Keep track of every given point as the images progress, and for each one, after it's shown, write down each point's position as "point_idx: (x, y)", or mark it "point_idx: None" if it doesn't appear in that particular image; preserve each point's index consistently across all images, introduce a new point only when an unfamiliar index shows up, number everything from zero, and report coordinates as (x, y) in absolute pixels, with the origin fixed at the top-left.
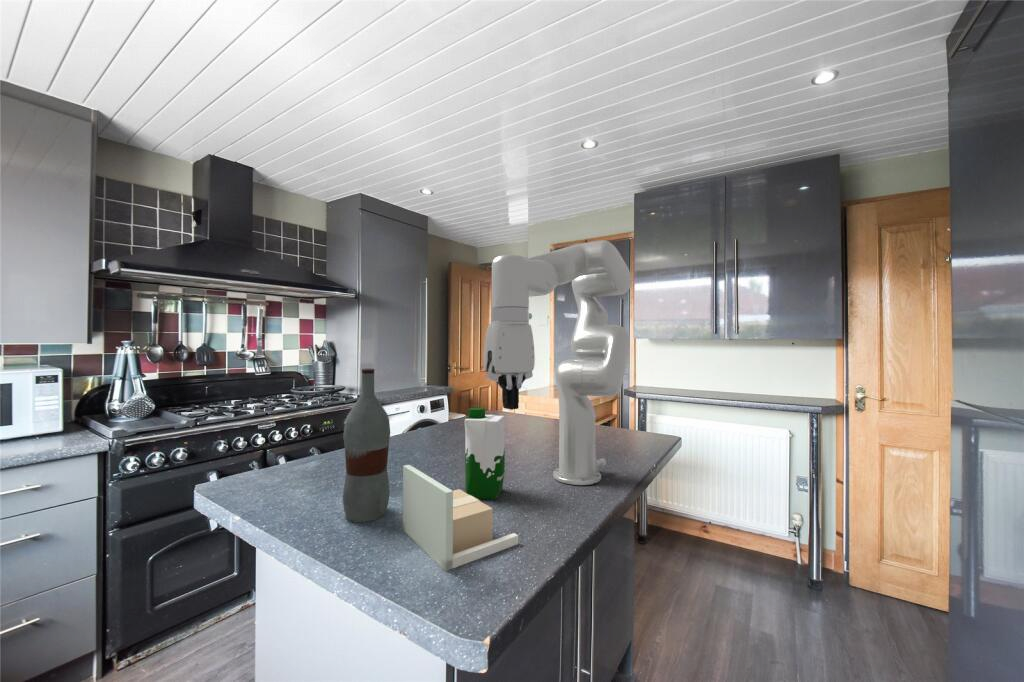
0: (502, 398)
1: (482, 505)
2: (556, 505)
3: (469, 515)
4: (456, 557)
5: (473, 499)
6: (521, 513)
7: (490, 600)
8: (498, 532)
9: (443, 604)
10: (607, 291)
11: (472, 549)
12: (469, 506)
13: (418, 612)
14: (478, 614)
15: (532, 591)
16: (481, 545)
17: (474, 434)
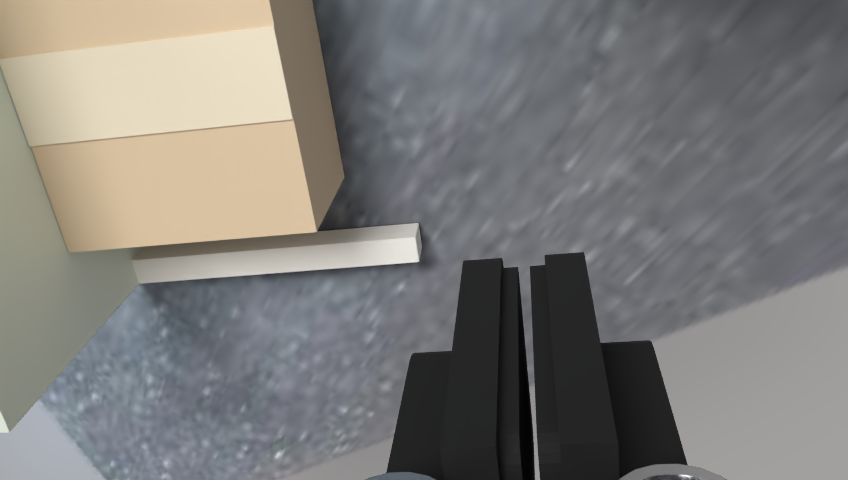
0: (404, 396)
1: (285, 178)
2: (844, 9)
3: (195, 241)
4: (153, 281)
5: (267, 92)
6: (606, 2)
7: (212, 433)
8: (399, 126)
9: (96, 391)
10: None
11: (218, 265)
12: (223, 155)
13: None
14: (168, 457)
15: (327, 457)
16: (258, 256)
17: None
